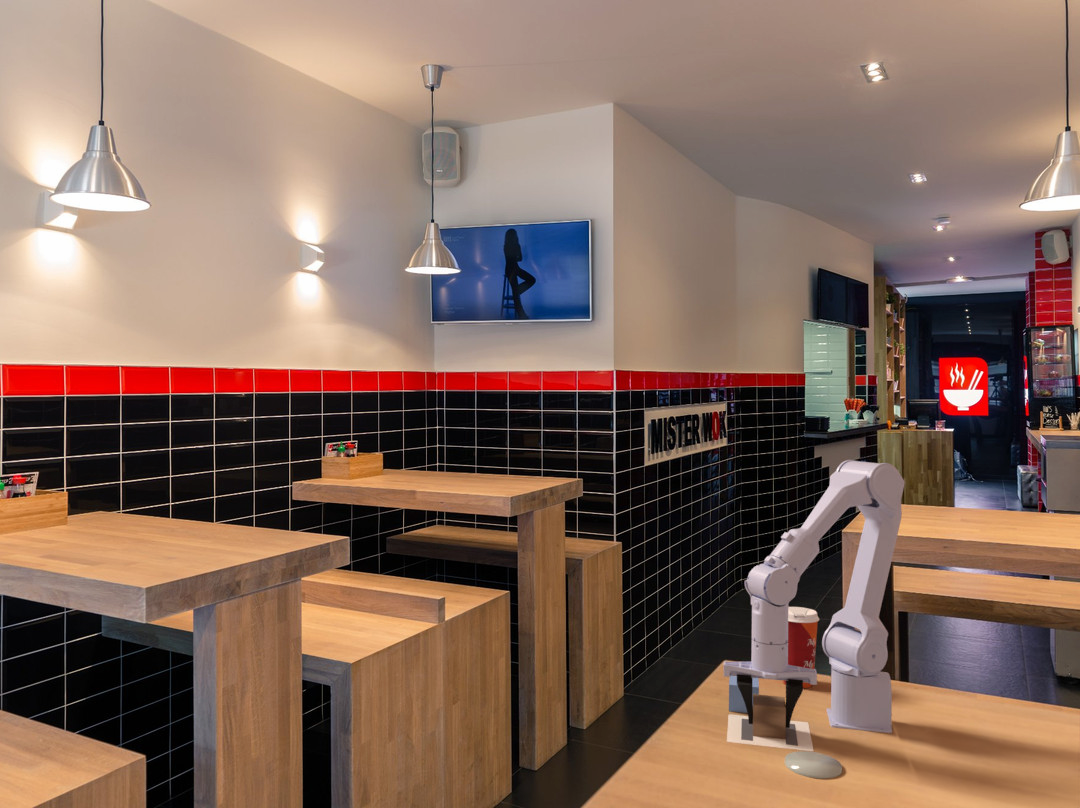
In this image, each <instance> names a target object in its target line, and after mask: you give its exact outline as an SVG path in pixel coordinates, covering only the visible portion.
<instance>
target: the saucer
mask: <svg viewBox="0 0 1080 808" xmlns="http://www.w3.org/2000/svg"><path fill="white" fill-rule="evenodd" d="M784 765H785V766H786V768H787V770H790V771H791V772H793V773H795V774H796V775H797V774H798V775H800V776H802V777H807V778H812V779H820V780H821V779H824V780H825V779H833V778H837V777H839V776H840V775H842V773H843V765H842V763H841V762H840V761H839V760H837V759H836V758H834V757H832V756H830V755H827V754H825V753H820V752H816V751H805V750H797V751H794V752H790V753H787V754H786V755H785V757H784Z"/></svg>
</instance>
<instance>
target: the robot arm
mask: <svg viewBox="0 0 1080 808" xmlns="http://www.w3.org/2000/svg"><path fill="white" fill-rule="evenodd" d="M904 488H905V480H904V478H903V476H902V475H901V473H900V472H899V471H898V469H897V468H896V467H895V466H894V465H893V464H891V463H888V462H882V463H877V462H868V461H859V460H854V459H847V460H844V461H842V462H841V463H840V464H839V465H838V466H837V468H836V470H835V471H834V472H833V473H831V475H830V477H829V486H827V489H826V490H825V492H824V493H823V495H822V496H821V497H820V499H819V500H818V501H817V503H816V505H815V506H814V508H813V509H812V511H811V512H810V514H809V515H808V516H807V518H806V519H805V521H804V522H803V524H802V525H801V527H799V528H792V529H789V530H788V531H787V532H786V531H784V533H783V534H781V536H780V538H781V540H780V541H779V543H778V544H777V545H776V547H775V548H774V549H773V550H772V551H771V553H770V554H769V555H767V556H766V557H765V558H764V562H763V563H760V564H759V565H758V564H757V565H756V566H753V568H751V570H750V571H749V572H748V575H747V579H746V580H744V588H745V590H746V592H747V593H748V595H749V597H750V605H751V659H750V660H751V661H723V675H722V676H723V677H728V678H730V676H737V685H738V688H739V690H740V692H741V694H742V697H743V699H744V702H745V706H746V709H747V713H746V714H747V716H748V720H749V724H753V704H752V678H759V679H763V680H773V681H782V682H783V681H786V685H785V705H786V728H790V721H792V716H793V713H794V710H795V707H796V704H797V703H798V701H799V700H800V697H801V696H802V694H803V691H804V688H803V682H805V683H809V684H812V685H813V686H815V685H816V686H817V685H818V681H817V680H818V672H817V669H816V668H814V669H808V668H802V667H797V666H792V665H788V607H789V603H790V602H791V601H792V600H793V599H794V598H795V597H796V595H797V591H798V583H799V582H800V579H801V576H802V574H803V573H804V572H805V571H806V569H807V568H808V567H809V566H810V565H811V563H812V562H813V561H814V559H815V558H816V557H817V556H818V554H819V553H820V545H819V541H820V540H821V539H822V538H823V536H824V535H825V534H826V533H827V532H828V531H829V530H830V529H831V528H832V526H833V525H834V524H835V523H836V522H837V521H838V520H839V519H840V518H841V517H842V515H843V514H844V513H845V512H846V511H847V510H848V509H849V508H854V507H857V508H858V510H859V511H860V512H861V514H862V516H863V517H864V523H863V527H862V532H861V536H860V540H859V544H858V548H857V552H856V556H855V561H854V566H853V570H852V574H851V579H850V583H849V586H848V587H849V588H848V591H847V596H846V600H845V604H844V607H843V608H841V609H840V610H838V611H837V612H835V613H834V614H833V615H832V616H831V620H830V624H829V625H828V627H827V628H826V630H825V631H824V633H823V636H822V640H821V646H822V650H823V653H824V654H825V655H826V656H827V657H828V660H829V662H828V663H829V664H830V665H831V667H830V670H831V671H830V673H831V674H830V675H831V676H830V678H831V679H830V680H831V681H830V682H831V685H830V688H831V690H830V691H831V692H830V708H826V714H827V719H828V721H829V726H830V727H831V728H836V729H837V728H839V729H844V730H845V729H846V730H847V729H848V730H857V731H865V732H866V731H867V732H874V733H875V732H876V733H885V734H893V730H892V716H893V714H892V711H893V710H892V709H893V708H892V707H893V706H892V705H893V704H892V702H893V701H892V700H893V699H892V698H893V697H892V695H893V693H892V692H893V691H892V681H891V676H890V673H889V672H885V671H882V670H883V669H884V668H885V666H886V664H887V661H888V657H889V656H888V655H889V654H888V645H887V641H888V637H889V632H888V630H887V629H886V627H885V625H884V623H883V622H882V621H881V619H880V614H881V613H880V612H881V608H882V603H883V600H884V596H885V591H886V585H887V582H888V577H889V573H890V569H891V564H892V561H893V556H894V551H895V547H896V542H897V538H898V533H899V530H900V525H901V521H902V514H903V513H902V511H903V510H902V503H901V501H902V497H903V492H904Z"/></svg>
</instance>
